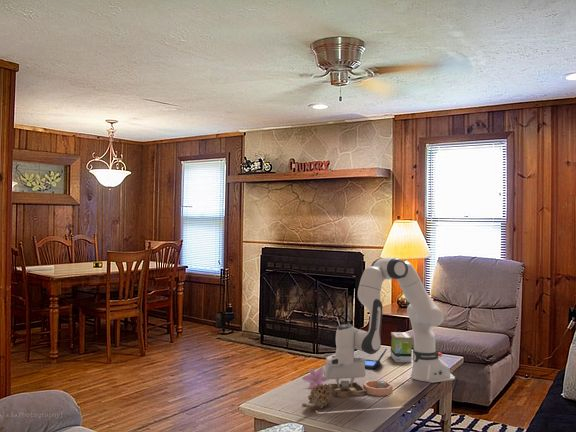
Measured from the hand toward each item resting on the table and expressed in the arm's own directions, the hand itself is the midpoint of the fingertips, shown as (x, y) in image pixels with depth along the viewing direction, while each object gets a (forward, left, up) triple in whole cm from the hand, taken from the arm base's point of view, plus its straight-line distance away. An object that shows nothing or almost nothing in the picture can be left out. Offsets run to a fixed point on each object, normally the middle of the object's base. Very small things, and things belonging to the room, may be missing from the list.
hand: (344, 387), depth 253 cm
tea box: (-51, -50, -2) cm, 71 cm away
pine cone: (+20, +22, -2) cm, 30 cm away
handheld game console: (-29, -39, -2) cm, 49 cm away
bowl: (-15, +5, -2) cm, 16 cm away
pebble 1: (0, 0, -1) cm, 1 cm away
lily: (+13, -7, -2) cm, 15 cm away
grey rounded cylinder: (-17, +5, -1) cm, 18 cm away
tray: (0, +3, -2) cm, 4 cm away
